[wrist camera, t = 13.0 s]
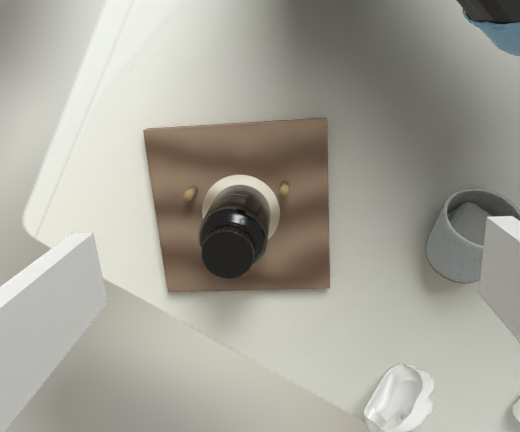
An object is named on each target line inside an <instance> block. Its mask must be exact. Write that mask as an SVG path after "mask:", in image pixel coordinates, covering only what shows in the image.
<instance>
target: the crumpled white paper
mask: <svg viewBox="0 0 520 432" xmlns="http://www.w3.org/2000/svg"><path fill="white" fill-rule="evenodd" d="M434 390H435V383H434V381H433V378H432V376H431V375H430V374H429V373H427V372H426V371H422V370H418V369H416V368H415V367H414V366H412V365H407V364H404V363H400V364H398V365H395V366H393V367H392V368H390V369H389V370H388V371H387V373H386V374H385V375H384V377H383V378H382V380H381V381H380V383H379V385H378V387H377V388H376V390H375V392H374V393H373V395H372V397H371V399H370V400H369V402H368V404H367V405H366V407H365V409H364V415H365V424H366V426H367V428H368V430H369V431H370V432H378V431H379V432H409V431H412V430H414V429H416V428H417V427H418V426H419V425H420V424H421V423H422V422H423V421H424V420H425V419H426V418H427V417H428V415H430V413H431V412H432V411H433V403H432V401H431V399H430V398H429V395H430V394H431V393H432V392H433V391H434Z"/></svg>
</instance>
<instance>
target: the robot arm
mask: <svg viewBox="0 0 520 432" xmlns="http://www.w3.org/2000/svg"><path fill="white" fill-rule="evenodd" d="M457 1H458V3H459V4H460V5H461V6H462V7H463V14H464V16H465V18H466V19H467V20H468V21H469V22H470V23H472V24H474V25H475V26H477V27H479V28H480V29H481V30H482V31H483V33H484V34H485V35H486V36H487V37H488V38H489V39H490V40H491V41H492V42H493V43H494V45H495V46H497V47H498V48H499V49H500V50H503V51H505V52H507V53H509V54H513V55H516V56H520V0H457ZM479 294H480V296H481V297H482V298H483V299H484V300H485V302H486V303H487V304H488V305H489V306H490V308H491V309H492V310H493V311H494V312H495V314H496V315H497V316H498V317H499V318H500V320H501V321H502V322H503V323H504V324H505V326H506V327H507V328H508V329H509V330H510V332H511V333H512V334H513V335H514V336H515V338H516V339H517V340H518V341H519V342H520V221H519V220H517V219H516V218H514V217H513V216H496V217H487V220H486V230H485V239H484V248H483V258H482V267H481V277H480V286H479ZM107 303H108V301H107V296H106V292H105V287H104V283H103V277H102V273H101V268H100V263H99V258H98V253H97V249H96V244H95V239H94V234H93V233H75V234H71V235H70V236H68V237H67V238H66V239H64V240H63V241H62V242H60V243H59V244H57V245H56V246H55V247H53V248H52V249H51V250H49V251H48V252H47V253H45V254H44V255H43V256H41V257H40V258H39V259H37V260H36V261H34V262H33V263H32V264H30V265H29V266H28V267H26V268H25V269H24V270H22V271H21V272H20V273H18V274H17V275H16V276H14V277H13V278H11V279H10V280H9V281H7V282H6V283H5V284H3V285H2V286H1V287H0V432H5V430H6V429H7V428H8V427H9V425H10V424H11V423H12V422H13V420H14V419H15V418H16V417H17V415H18V414H19V413H20V411H21V410H22V409H23V408H24V407H25V405H26V404H27V403H28V401H29V400H30V399H31V398H32V397H33V395H34V394H35V393H36V391H37V390H38V389H39V388H40V387H41V385H42V384H43V383H44V382H45V380H46V379H47V378H48V377H49V375H50V374H51V373H52V372H53V370H54V369H55V368H56V367H57V365H58V364H59V363H60V361H61V360H62V359H63V358H64V357H65V355H66V354H67V353H68V351H69V350H70V349H71V348H72V347H73V345H74V344H75V343H76V341H77V340H78V339H79V338H80V337H81V335H82V334H83V333H84V331H85V330H86V329H87V328H88V327H89V325H90V324H91V323H92V322H93V320H94V319H95V318H96V317H97V315H98V314H99V313H100V312H101V310H102V309H103V308H104V307H105V305H106V304H107Z"/></svg>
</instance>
